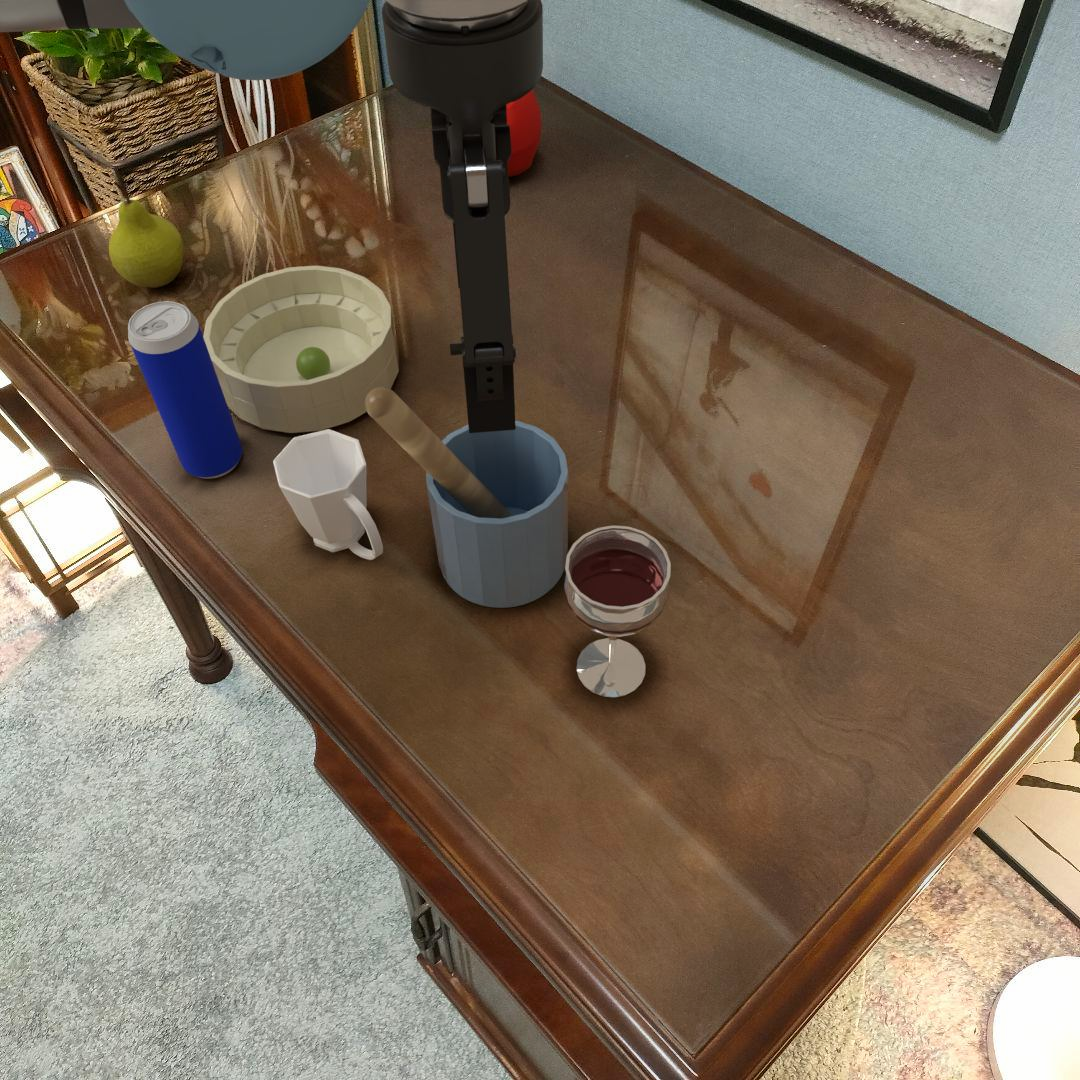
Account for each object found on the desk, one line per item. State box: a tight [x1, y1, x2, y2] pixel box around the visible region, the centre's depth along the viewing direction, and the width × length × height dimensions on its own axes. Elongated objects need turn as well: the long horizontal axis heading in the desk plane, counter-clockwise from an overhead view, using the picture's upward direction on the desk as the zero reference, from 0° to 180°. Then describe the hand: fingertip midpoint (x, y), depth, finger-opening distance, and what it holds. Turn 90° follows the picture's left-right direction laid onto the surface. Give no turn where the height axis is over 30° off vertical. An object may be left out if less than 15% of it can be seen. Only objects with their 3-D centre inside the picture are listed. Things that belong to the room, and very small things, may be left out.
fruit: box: [108, 181, 185, 289], centre depth 98 cm, size 7×7×12 cm
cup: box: [272, 428, 384, 561], centre depth 78 cm, size 7×10×8 cm
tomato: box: [496, 89, 543, 178], centre depth 112 cm, size 11×12×9 cm
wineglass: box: [563, 525, 672, 698], centre depth 69 cm, size 7×7×12 cm
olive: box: [296, 347, 330, 380], centre depth 91 cm, size 3×3×3 cm
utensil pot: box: [425, 420, 569, 609], centre depth 76 cm, size 10×10×10 cm
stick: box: [365, 387, 513, 519], centre depth 72 cm, size 2×2×20 cm
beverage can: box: [127, 300, 243, 480], centre depth 81 cm, size 5×5×15 cm
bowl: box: [202, 265, 400, 434], centre depth 91 cm, size 16×16×6 cm
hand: (484, 350), depth 64 cm, fingers open, 13 cm apart
